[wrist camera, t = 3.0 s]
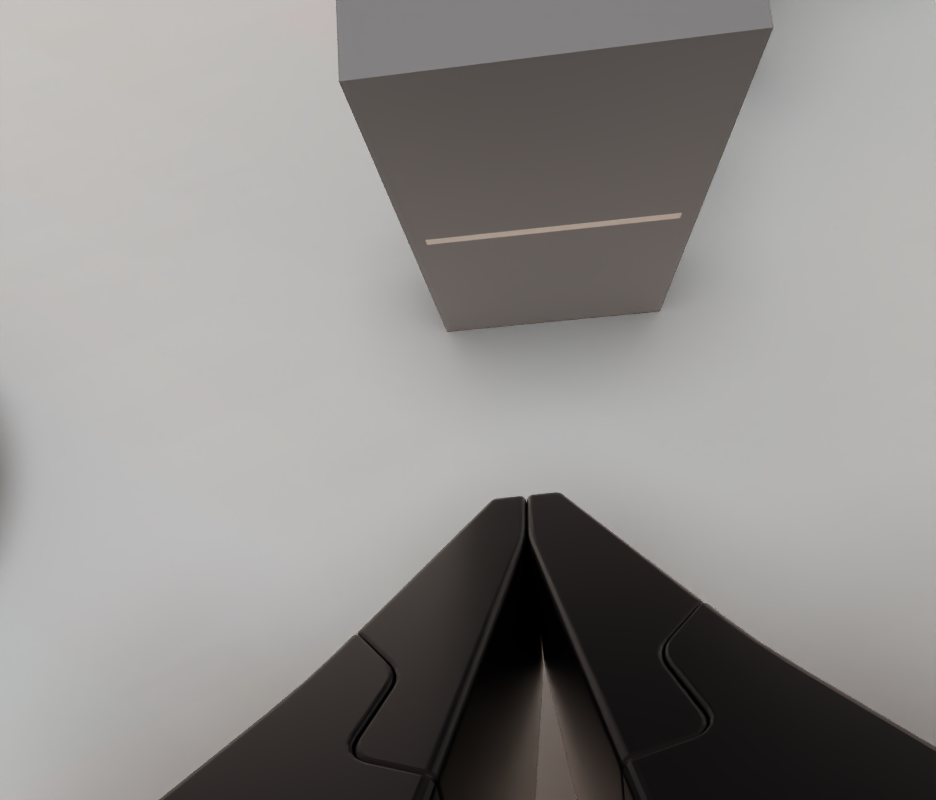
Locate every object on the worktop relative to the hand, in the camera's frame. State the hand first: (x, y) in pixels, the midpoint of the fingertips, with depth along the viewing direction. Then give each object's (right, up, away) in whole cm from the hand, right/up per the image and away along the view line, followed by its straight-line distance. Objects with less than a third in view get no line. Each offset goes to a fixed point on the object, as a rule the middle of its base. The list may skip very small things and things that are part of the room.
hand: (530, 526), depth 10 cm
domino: (+1, +4, +9) cm, 10 cm away
